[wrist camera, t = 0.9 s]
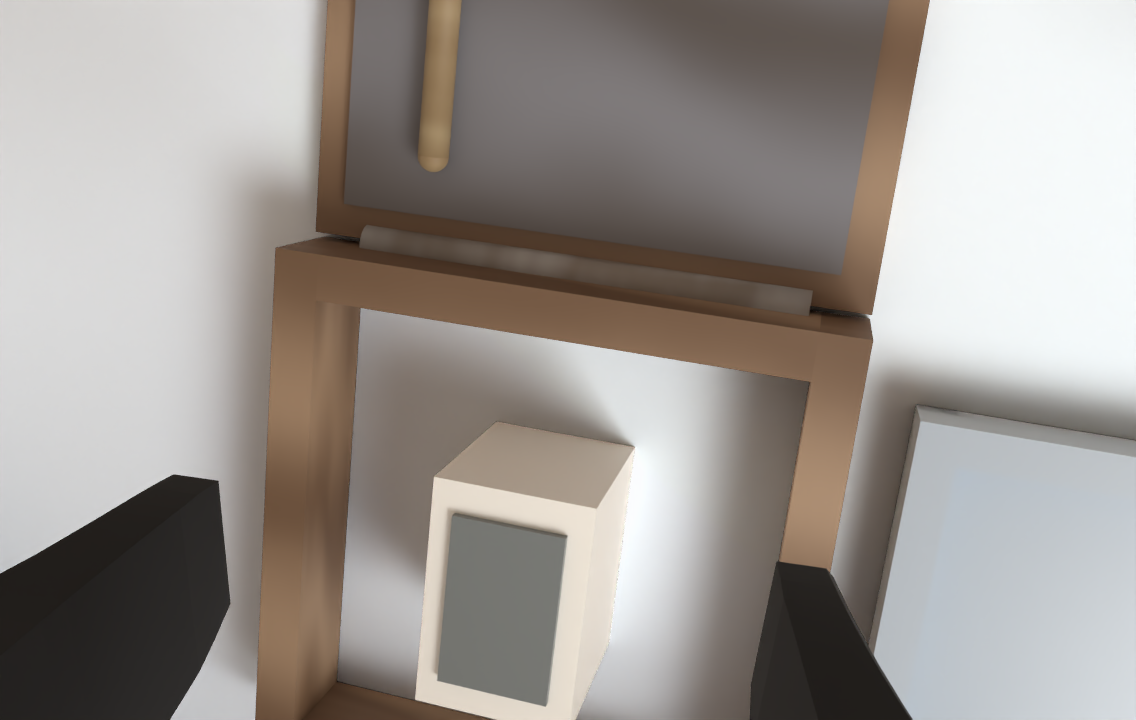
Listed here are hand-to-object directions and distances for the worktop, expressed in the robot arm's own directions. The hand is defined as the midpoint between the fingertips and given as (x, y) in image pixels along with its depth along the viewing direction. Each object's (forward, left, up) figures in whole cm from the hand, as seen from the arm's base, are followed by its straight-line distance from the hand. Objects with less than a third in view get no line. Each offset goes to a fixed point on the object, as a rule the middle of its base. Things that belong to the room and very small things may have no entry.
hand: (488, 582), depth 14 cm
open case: (+2, +3, -16) cm, 16 cm away
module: (-6, +3, -16) cm, 17 cm away
